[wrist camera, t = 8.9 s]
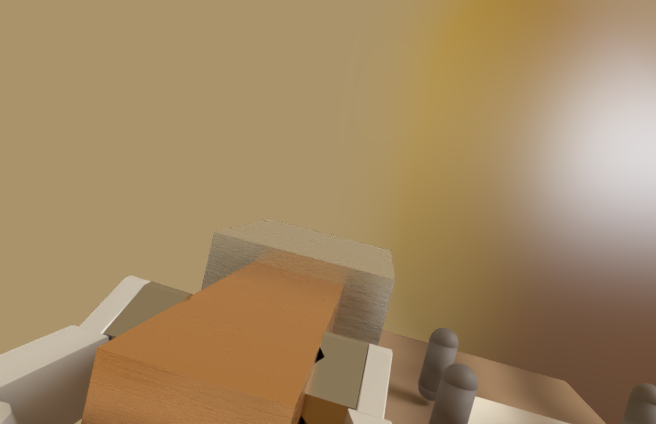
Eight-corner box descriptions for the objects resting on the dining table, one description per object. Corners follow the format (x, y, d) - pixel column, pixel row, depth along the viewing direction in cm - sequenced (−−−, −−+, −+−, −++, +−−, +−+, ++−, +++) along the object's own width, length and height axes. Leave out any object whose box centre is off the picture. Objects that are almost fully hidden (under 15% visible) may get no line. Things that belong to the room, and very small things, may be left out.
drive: (375, 311, 21) (390, 250, 21) (358, 601, 6) (412, 397, 6) (254, 278, 22) (268, 218, 21) (-24, 469, 7) (12, 281, 7)
